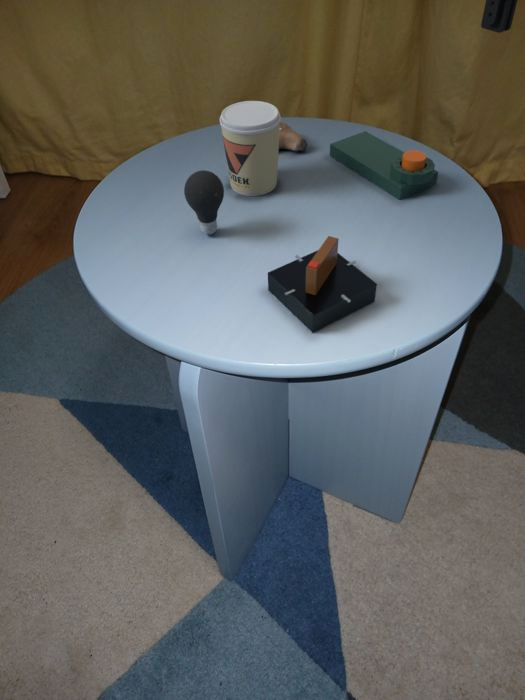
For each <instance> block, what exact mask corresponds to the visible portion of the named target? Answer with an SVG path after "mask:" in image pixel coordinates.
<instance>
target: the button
mask: <svg viewBox="0 0 525 700" xmlns="http://www.w3.org/2000/svg"><path fill="white" fill-rule="evenodd" d="M426 157H427V154H426V153H425V152H423V151H420V150H415V149H414V150H411V149H410V150H406V151H404V154H403V158H402V164H401V166H402V167H403V168H404V169H406V170H411V171H420V170H422V169H424V167H425V162H426Z"/></svg>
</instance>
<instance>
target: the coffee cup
mask: <svg viewBox="0 0 525 700" xmlns="http://www.w3.org/2000/svg"><path fill="white" fill-rule="evenodd" d="M280 113H281V112H279V109H278V108H277V106H276V105H273V104H271V103H269V102H266V101H262V100H261V101H260V100H244V101H238V102H236V103H232V104H230V105H228V106H226V107H225V108H223V109H222V111H221V113H220V116H219V124H220V127H221V135H222V141H223V147H224V148H223V149H224V153H225V160H226V166H227V171H228V178H229V182H230V183H229V184H230V187H231V189H232V190H233V191H234V192H235V193H237V194H239V195H241V196H245V197H259V196H264V195H266V194H269V193H270V192H272V191H273V190H274V189H276V186H277V183H278V169H279V167H278V166H279V151H280V149H279V129H280V122H282V116H281V114H280Z"/></svg>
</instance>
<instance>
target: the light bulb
mask: <svg viewBox="0 0 525 700" xmlns="http://www.w3.org/2000/svg"><path fill="white" fill-rule="evenodd" d="M183 191H184V198H185V201H186V203H187V204H188V206H189V207H190V208H191V209H192V210H193V212H194V213H195V215H196V218H197V220H198V221H199V227H200V231H201V232H202V233H203V234H206V235H207V236H212V235H213V234H215V232H217V229H218V223H217V222H218V221H217V218H218V211H219V209H220V207H221V205H222V203H223V200H224V196H225V188H224V184H223V182H222V179H220V177H219V176H218V175H216V174H215V172H213V171H209V170H203V169H202V170H196V171H195V172H193V173H191V174H190V175H189V177H188V178H187V179H186V181H185V183H184V188H183Z"/></svg>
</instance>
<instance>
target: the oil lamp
mask: <svg viewBox="0 0 525 700" xmlns="http://www.w3.org/2000/svg"><path fill="white" fill-rule="evenodd" d="M307 147H308V142H307V140H306V139H305V138H304V137H302V135H300V134H299V133H298V132H297V131H296V130H294V129H292V128H291V126H289V124H287V123H285V122H283V121H280V129H279V150H289V151H293V152H299V151H302V152H303V151H305V150H306V149H307Z"/></svg>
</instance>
